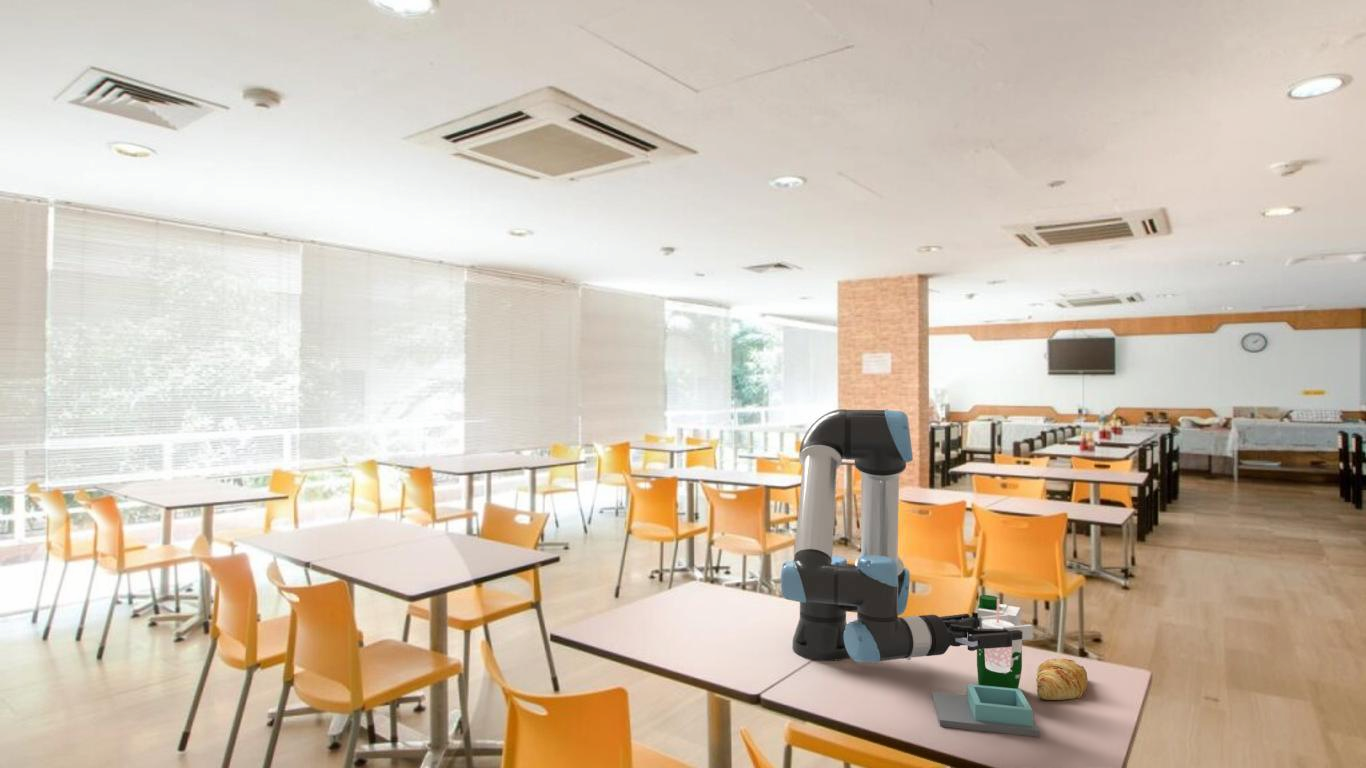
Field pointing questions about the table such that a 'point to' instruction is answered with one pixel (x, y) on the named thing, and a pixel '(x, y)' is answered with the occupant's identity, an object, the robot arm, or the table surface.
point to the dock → (986, 710)
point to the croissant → (1061, 680)
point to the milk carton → (1013, 676)
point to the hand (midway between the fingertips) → (1018, 626)
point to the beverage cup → (997, 656)
